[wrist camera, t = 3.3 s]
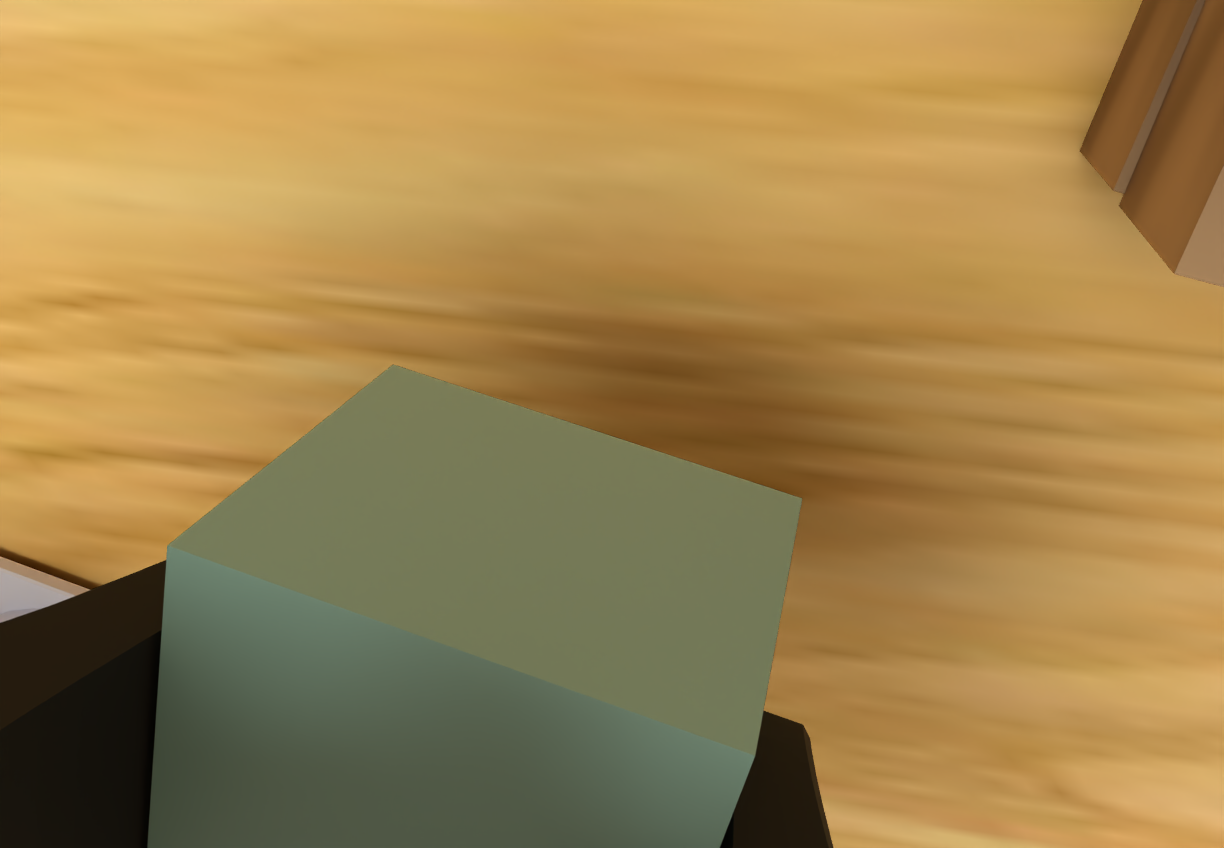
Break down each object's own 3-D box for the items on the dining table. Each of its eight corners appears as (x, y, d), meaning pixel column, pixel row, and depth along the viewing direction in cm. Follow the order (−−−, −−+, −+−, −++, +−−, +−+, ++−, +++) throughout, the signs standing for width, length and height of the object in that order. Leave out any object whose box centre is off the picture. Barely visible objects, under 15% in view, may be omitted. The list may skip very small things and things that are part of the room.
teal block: (686, 817, 13) (605, 1141, 9) (341, 689, 14) (140, 951, 10) (802, 498, 11) (754, 754, 8) (393, 364, 12) (167, 545, 8)
